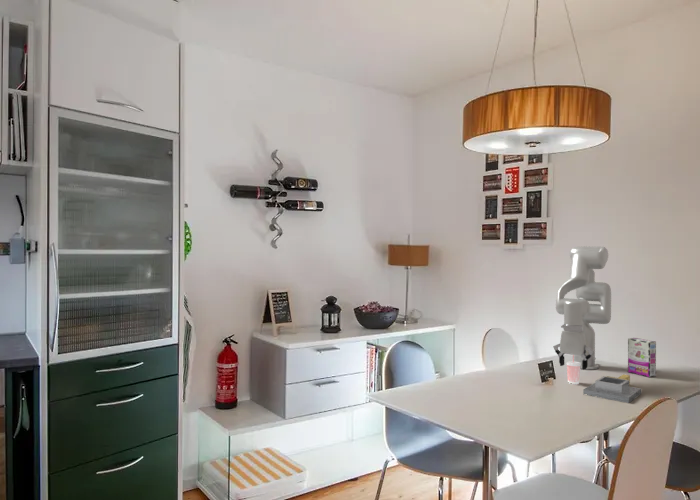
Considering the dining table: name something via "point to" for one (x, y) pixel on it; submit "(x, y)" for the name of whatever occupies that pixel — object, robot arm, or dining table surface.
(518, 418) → the dining table surface
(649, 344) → the candy bar box
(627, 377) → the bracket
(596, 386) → the stacked grey tray
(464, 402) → the dining table surface
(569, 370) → the beverage cup
